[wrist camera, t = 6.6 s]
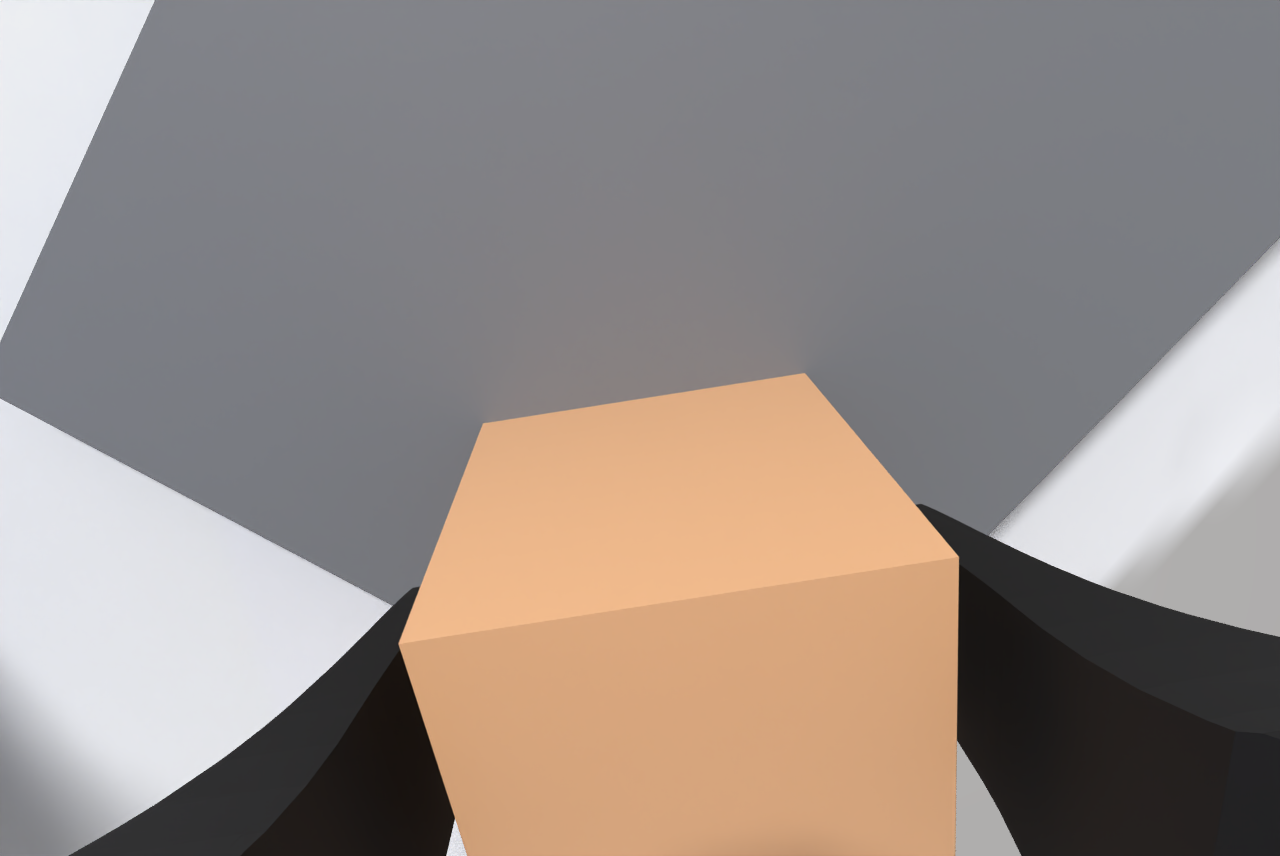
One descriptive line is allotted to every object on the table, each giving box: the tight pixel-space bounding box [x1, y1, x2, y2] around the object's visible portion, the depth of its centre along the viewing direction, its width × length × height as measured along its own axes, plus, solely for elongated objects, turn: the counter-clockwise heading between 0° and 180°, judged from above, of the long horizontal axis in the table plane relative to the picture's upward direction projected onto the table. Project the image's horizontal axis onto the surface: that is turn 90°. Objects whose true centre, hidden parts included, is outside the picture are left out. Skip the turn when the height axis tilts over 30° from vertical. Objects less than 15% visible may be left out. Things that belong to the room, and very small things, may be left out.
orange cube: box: [399, 373, 959, 856], centre depth 11 cm, size 6×6×6 cm
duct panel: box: [0, 0, 1280, 605], centre depth 11 cm, size 18×16×5 cm
